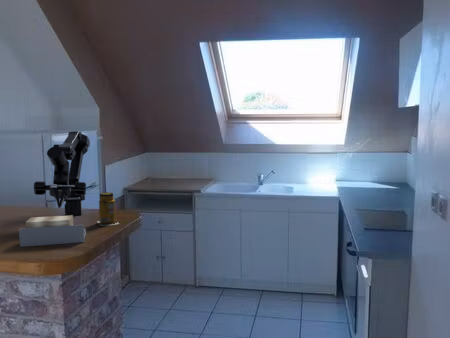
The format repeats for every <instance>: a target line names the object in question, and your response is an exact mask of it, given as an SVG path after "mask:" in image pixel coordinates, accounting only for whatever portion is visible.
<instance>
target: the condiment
mask: <svg viewBox="0 0 450 338" xmlns="http://www.w3.org/2000/svg"><path fill="white" fill-rule="evenodd" d="M98 209H99V210H98V211H99V220H97V221H96V222H97V223H98V225H99V226H100V227H106V226H115V225H120V223H119V222H118V221H117V220H116V201H115V199H114V193H113V192H111V191H110V192H109V191H107V192H101V193H99V201H98ZM115 220H116V221H117V223H115ZM113 223H115V224H113Z"/></svg>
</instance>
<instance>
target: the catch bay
mask: <svg viewBox="0 0 450 338" xmlns="http://www.w3.org/2000/svg"><path fill="white" fill-rule="evenodd" d="M84 227H85V225H84V223H83V224H82V223H81V224H74V225H66V226H51V227H36V228H26V227H24V228H23V227H21V228H19V229H18V235H19V238H18V239H19V246H20V248H22V247H35V246H37V247H38V246H49V245H59V244H60V245H61V244H76V243H85V238H86V236H87V235H86V234H87V229H86V228H84Z"/></svg>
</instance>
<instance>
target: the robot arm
mask: <svg viewBox="0 0 450 338" xmlns="http://www.w3.org/2000/svg"><path fill="white" fill-rule="evenodd" d="M67 134H68V135H67V137H66V138H65V140H64V142H63V143H60V144H53V146H52V147H50V148H48V149H47V151H46V154H47V158H48V160H49V161H50V163H51V165H52V166H53V176H52V177H53V178H52V179H53V181H52V183H50V184H49V185H48V184H47V183H46V181H43V180H41V181H40V180H36V181H35V182H34V183H33V191H34V195H36V196H40V195H42V196H43V195H45V194H46V193H47V191H48V192H49V196H50V197H53V198H54V200H55V202H56V205H57V208H58V209H60V208H62V206H63V203H64V202H65V204H64V214H65V216H70V215H73V216H82V214H83V203H82V202H83V201H85V200H86V192H87V183H86V182H84V181H80V178H81V171H82V166H83V158H84V155H85V154H86V153H87V152H88V151H89V147H90V146H91V145H90V144H91V141H90V138H89V137H88V136H87V135H86V134H83V133H82V131H78V130H77V131H76V130H75V131H74V130H73V131H68V133H67ZM69 161H70V162H69Z"/></svg>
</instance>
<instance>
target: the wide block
mask: <svg viewBox="0 0 450 338" xmlns="http://www.w3.org/2000/svg"><path fill="white" fill-rule="evenodd" d="M66 225H75V224H74V215H70V216H66V215H54V216H36V217H35V216H33V217H30V218H29V219H28V220H27V221H26V222H25V228H36V227H51V226H66Z"/></svg>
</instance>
